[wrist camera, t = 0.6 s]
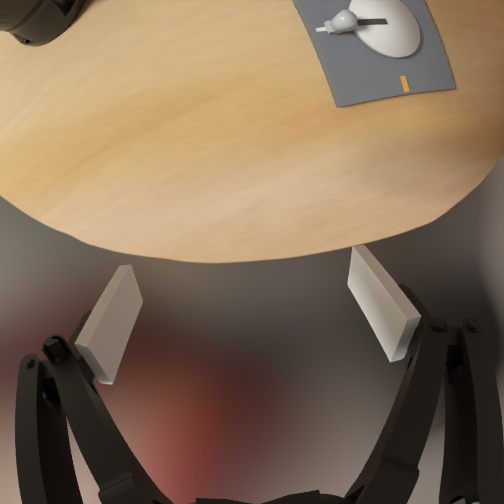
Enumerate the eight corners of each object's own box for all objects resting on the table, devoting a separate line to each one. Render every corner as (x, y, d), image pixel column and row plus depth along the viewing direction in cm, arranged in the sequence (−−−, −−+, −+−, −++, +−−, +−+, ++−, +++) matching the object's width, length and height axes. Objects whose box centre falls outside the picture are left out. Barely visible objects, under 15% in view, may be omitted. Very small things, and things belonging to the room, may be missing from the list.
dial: (397, -6, 22) (413, -15, 18) (424, 56, 27) (443, 53, 23) (309, -5, 24) (319, -18, 19) (341, 65, 29) (355, 59, 25)
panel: (278, -25, 23) (280, -31, 21) (402, -26, 21) (408, -29, 19) (336, 107, 34) (342, 106, 32) (448, 88, 31) (456, 88, 29)
